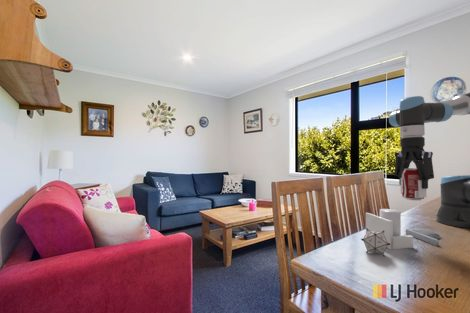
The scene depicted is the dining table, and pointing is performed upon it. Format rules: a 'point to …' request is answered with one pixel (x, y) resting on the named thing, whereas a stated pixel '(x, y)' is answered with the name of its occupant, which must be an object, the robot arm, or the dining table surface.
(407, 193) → the soda can
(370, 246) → the game die
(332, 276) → the dining table surface
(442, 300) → the dining table surface
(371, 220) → the dispenser rack
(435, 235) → the coaster
